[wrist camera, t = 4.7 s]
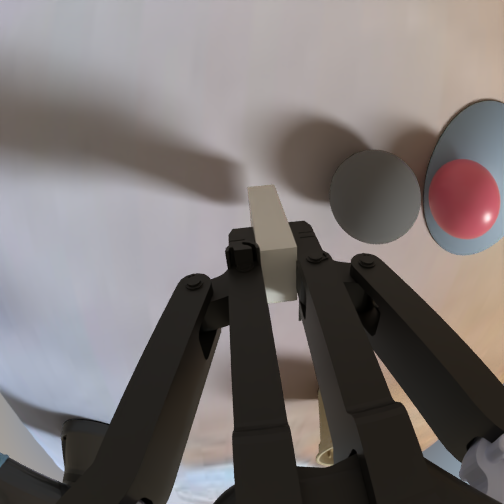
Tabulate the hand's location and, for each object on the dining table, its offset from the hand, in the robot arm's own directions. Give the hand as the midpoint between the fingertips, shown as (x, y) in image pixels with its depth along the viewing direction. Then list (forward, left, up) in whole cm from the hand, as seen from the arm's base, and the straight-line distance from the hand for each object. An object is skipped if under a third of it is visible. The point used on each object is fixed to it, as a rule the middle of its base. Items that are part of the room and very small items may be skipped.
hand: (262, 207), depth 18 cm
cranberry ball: (+14, 0, +1) cm, 14 cm away
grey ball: (+7, 0, +1) cm, 7 cm away
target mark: (+19, 0, -2) cm, 19 cm away
